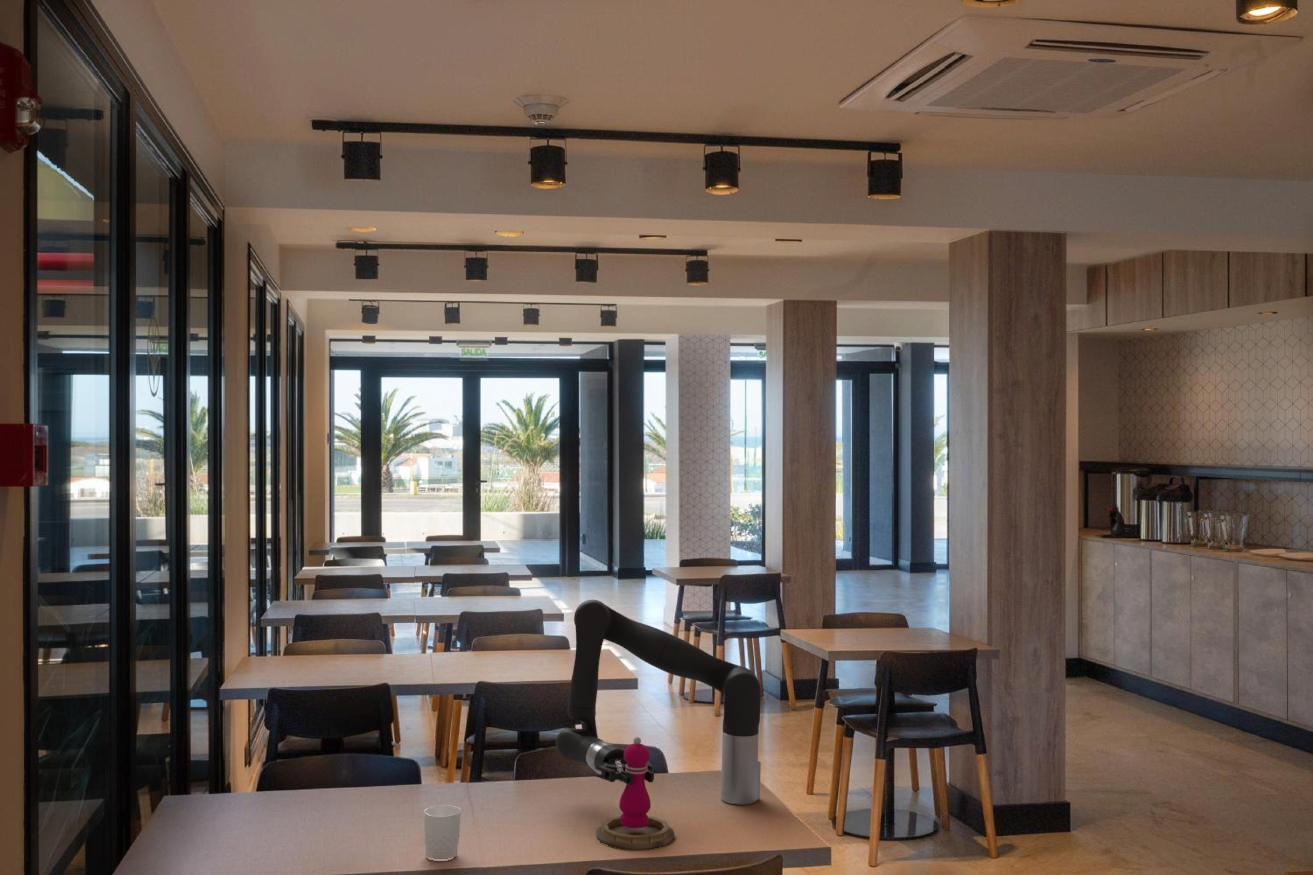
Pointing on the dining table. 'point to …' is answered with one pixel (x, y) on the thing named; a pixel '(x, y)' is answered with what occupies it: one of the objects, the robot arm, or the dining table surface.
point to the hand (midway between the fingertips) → (641, 779)
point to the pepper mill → (635, 787)
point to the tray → (635, 834)
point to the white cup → (442, 831)
